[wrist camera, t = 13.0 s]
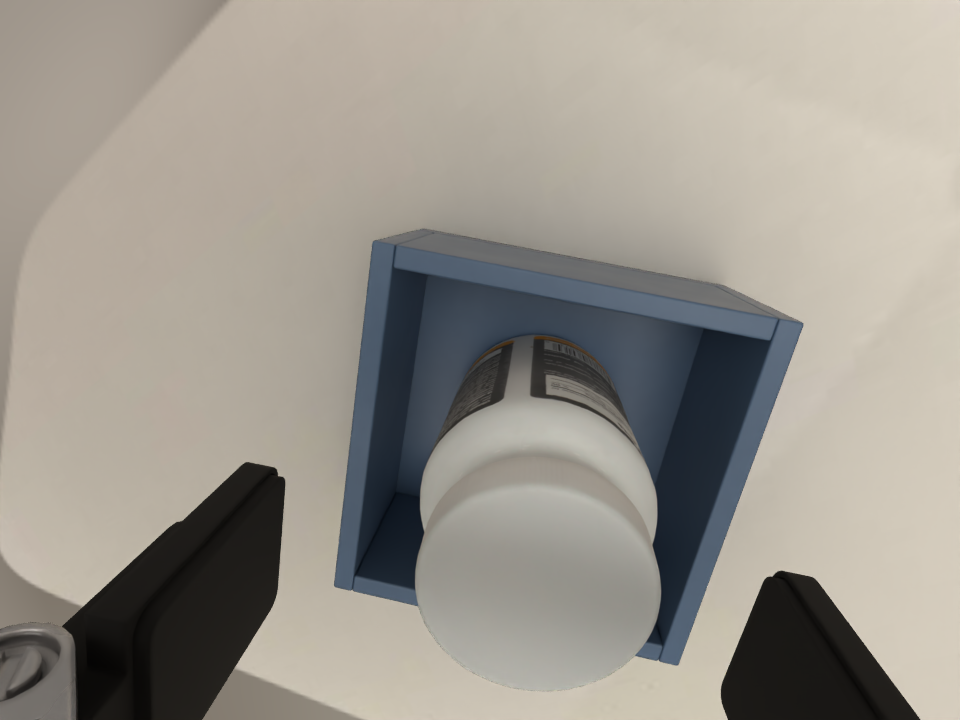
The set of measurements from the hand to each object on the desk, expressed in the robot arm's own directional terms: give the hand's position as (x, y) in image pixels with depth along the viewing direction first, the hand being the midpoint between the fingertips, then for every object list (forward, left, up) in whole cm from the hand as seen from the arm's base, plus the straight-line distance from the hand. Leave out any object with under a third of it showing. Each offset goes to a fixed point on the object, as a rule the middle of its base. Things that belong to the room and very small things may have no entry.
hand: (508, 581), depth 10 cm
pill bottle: (0, 0, -10) cm, 10 cm away
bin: (+1, 0, -11) cm, 11 cm away
